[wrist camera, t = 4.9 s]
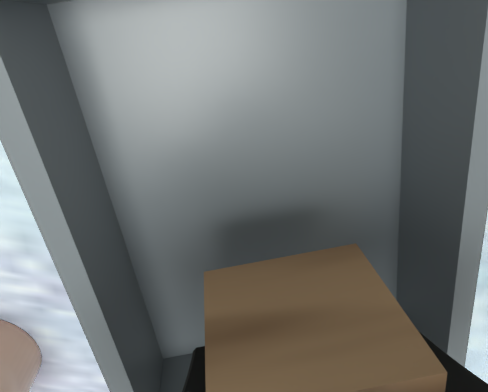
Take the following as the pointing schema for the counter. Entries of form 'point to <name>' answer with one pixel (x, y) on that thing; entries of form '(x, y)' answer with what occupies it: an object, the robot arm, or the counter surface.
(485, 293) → the counter surface
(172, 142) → the tote
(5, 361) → the terracotta cylinder
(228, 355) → the walnut cube
